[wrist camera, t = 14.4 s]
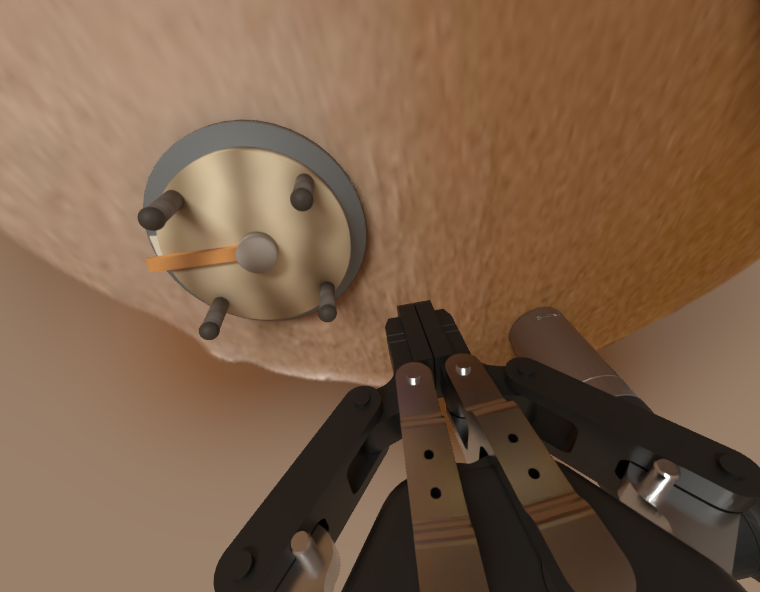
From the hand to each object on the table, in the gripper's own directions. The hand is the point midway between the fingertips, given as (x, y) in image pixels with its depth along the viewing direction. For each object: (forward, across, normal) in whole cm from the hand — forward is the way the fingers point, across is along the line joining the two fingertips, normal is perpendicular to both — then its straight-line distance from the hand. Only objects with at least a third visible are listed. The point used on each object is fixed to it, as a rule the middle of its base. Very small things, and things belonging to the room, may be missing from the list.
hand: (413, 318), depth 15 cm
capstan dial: (+25, +13, +5) cm, 29 cm away
